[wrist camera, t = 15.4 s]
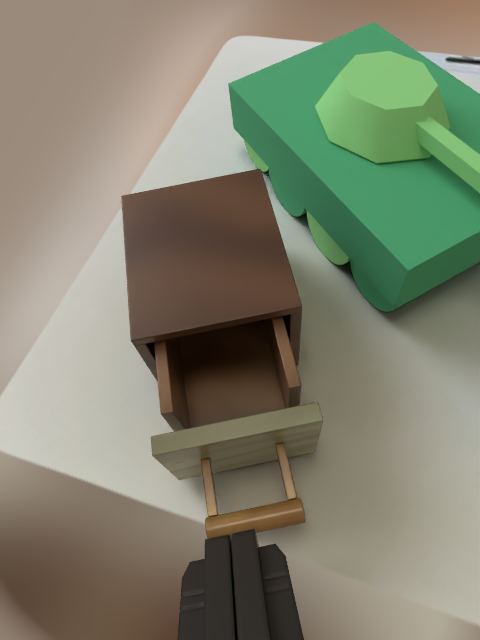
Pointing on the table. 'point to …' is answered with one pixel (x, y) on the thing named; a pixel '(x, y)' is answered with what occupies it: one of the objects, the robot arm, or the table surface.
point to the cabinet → (205, 261)
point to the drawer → (234, 414)
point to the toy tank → (371, 158)
